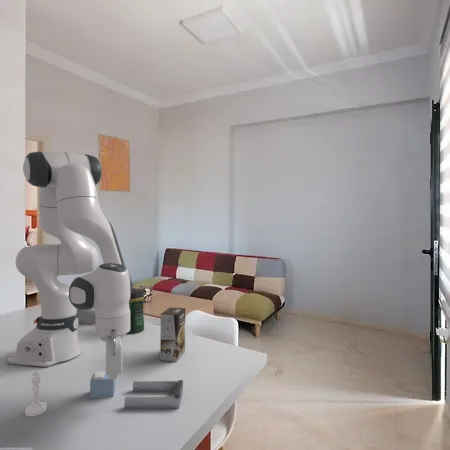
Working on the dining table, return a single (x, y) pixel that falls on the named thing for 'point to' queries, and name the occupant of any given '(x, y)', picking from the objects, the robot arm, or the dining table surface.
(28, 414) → the chess piece
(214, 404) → the dining table surface
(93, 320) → the digital camera
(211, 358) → the dining table surface
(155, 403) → the grey u-shaped piece
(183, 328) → the coffee box
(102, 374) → the block
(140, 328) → the coffee jar
